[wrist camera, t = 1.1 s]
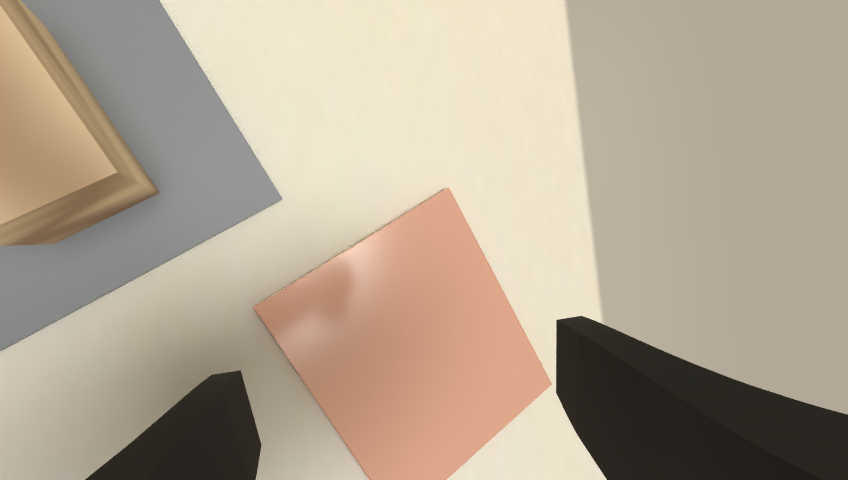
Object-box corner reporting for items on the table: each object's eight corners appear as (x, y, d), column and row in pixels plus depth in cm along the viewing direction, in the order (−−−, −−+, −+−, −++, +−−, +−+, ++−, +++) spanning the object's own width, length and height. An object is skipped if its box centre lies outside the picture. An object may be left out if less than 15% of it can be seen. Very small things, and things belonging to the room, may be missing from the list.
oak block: (54, 243, 16) (-51, 247, 10) (-80, 69, 14) (-286, -36, 9) (160, 192, 17) (117, 172, 12) (47, 28, 16) (-65, -86, 10)
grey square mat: (-18, 360, 15) (-21, 361, 15) (-290, 45, 13) (-297, 42, 13) (281, 199, 19) (282, 199, 19) (117, -66, 17) (115, -70, 16)
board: (396, 517, 21) (398, 522, 21) (253, 306, 19) (253, 307, 18) (547, 382, 25) (551, 384, 25) (445, 188, 22) (448, 187, 22)
